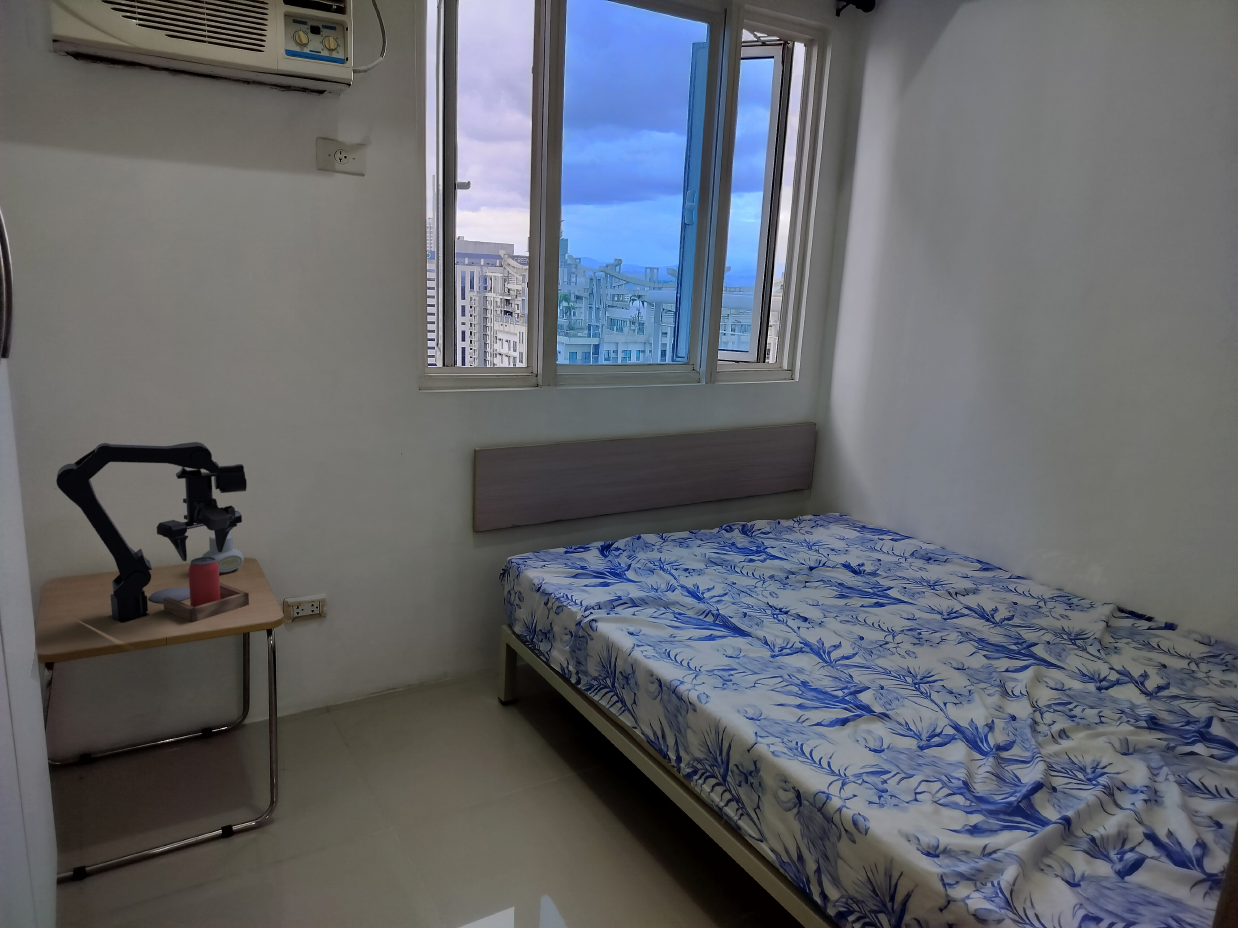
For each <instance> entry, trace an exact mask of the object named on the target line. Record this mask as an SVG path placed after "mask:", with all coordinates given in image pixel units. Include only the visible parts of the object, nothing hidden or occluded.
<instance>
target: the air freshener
mask: <svg viewBox="0 0 1238 928" xmlns="http://www.w3.org/2000/svg"><path fill="white" fill-rule="evenodd" d="M201 557H213V558H215V559H216V562H217V564H218V566H219V574H228V573H231V572H233V571H235V570H237V569H238V568H239V567H241V566H242V564H243V563H244V561H245V560H244V559H245V558H244V555H243V553H242V552H241V551H240V550H239V549H236V548H234V535H232V534H231V533H229V534H228V536H227V538H226V541H225V544H224V547H223V550H222V552H218V550H217V546H216V540H215V533H213V534H212V535H210V536H209V550H208V551H206V552H204V553H203V554H202V555H201Z"/></svg>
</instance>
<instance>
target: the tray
mask: <svg viewBox="0 0 1238 928" xmlns="http://www.w3.org/2000/svg"><path fill="white" fill-rule="evenodd" d="M249 595H250V594H249V592H246V591H244V590H241V589H239V588H235V587H233V586H230V585H228V584H225V583H223V582H220V600H217V601H214V602H210V603H207V604H203V605H200V606H196V607H192V606H191V605H190V604H187V603H185V602H183V601H178V600H175V599H173V598H170V597H165V598H163V600H164V603H163V610H164V611H166V612H168V613H171V614H173V615H175V616H178V617H180V618H182V619H185V620H187V621H190V622H192V623H194V622H197V621H200V620H203V619H206V618H210V617H213V616H217V615H219V614H223V613H226V612H229V611H233V610H235V609H239V608H242V607H245V606H249V605H250V598H249V597H250V596H249Z"/></svg>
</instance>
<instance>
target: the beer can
mask: <svg viewBox="0 0 1238 928" xmlns="http://www.w3.org/2000/svg"><path fill="white" fill-rule="evenodd" d="M189 563H190V565H189V567H188V583H189V587H188V588H190V598H189V600H190V601H189V602H190V603H189V605H190V606H192V607H196V606H200V605H203V604H207V603H210V602H214V601H217V600H220V599H221V597H220V583H221V582H220V573H219V566H218V564H217V562H216V559H215V558H213V557H202V556H201V557H196V558H193V559H191V560H190V562H189Z"/></svg>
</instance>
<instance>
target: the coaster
mask: <svg viewBox="0 0 1238 928" xmlns="http://www.w3.org/2000/svg"><path fill="white" fill-rule="evenodd" d="M165 597H170V598H173V599H175V600H178V601H180V602H183V601H185V600H190V588H189V587H170V588H169V587H168V588H163V589H160V590H157V591H155V592H153V593H151V594H150V595H149V601H151V602H154V603H158V604H164V600H163V598H165Z"/></svg>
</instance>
